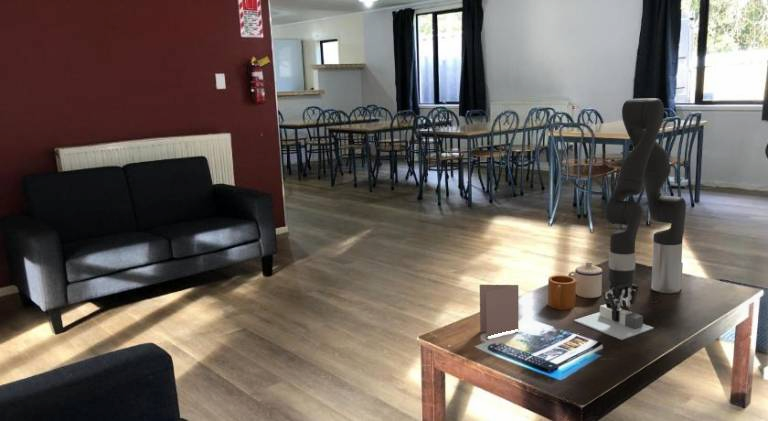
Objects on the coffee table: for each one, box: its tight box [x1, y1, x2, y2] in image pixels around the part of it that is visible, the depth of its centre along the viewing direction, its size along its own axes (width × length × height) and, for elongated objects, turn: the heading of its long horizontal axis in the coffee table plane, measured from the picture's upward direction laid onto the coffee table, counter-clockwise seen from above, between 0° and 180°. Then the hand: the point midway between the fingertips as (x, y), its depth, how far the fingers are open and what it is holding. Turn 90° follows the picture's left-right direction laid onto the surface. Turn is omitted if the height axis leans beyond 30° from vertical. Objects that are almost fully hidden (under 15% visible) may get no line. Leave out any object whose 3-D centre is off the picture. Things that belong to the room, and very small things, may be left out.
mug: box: [547, 274, 577, 311], centre depth 210 cm, size 9×12×9 cm
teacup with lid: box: [567, 261, 603, 299], centre depth 221 cm, size 12×9×12 cm
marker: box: [599, 303, 644, 329], centre depth 195 cm, size 14×3×3 cm, turn 30°
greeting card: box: [479, 284, 519, 338], centre depth 188 cm, size 11×7×15 cm, turn 80°
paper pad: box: [573, 311, 654, 341], centre depth 194 cm, size 14×18×1 cm
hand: (620, 319), depth 195 cm, fingers closed on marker, 3 cm apart
